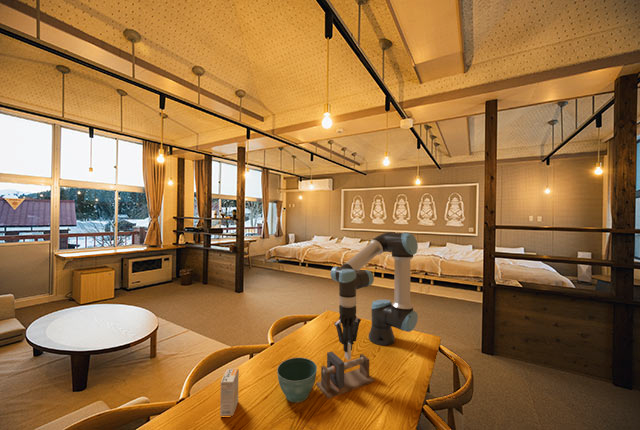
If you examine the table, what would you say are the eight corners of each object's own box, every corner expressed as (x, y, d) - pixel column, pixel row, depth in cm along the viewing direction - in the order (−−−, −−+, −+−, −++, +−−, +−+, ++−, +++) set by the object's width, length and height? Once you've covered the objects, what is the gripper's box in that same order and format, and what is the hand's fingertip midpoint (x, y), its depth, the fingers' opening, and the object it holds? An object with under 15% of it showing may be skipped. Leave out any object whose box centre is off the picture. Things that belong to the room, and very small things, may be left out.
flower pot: (301, 416, 92) (301, 386, 92) (268, 399, 100) (268, 371, 100) (324, 390, 105) (324, 364, 106) (293, 378, 114) (293, 353, 114)
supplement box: (226, 402, 98) (226, 368, 99) (238, 401, 99) (239, 367, 99) (219, 418, 90) (219, 381, 90) (233, 418, 91) (233, 381, 91)
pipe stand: (360, 369, 121) (360, 350, 121) (374, 381, 112) (374, 360, 112) (316, 384, 109) (316, 363, 109) (327, 399, 100) (327, 376, 101)
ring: (331, 373, 113) (331, 351, 113) (344, 386, 104) (344, 362, 104) (327, 375, 112) (327, 352, 112) (339, 388, 103) (339, 363, 103)
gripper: (354, 300, 118) (354, 350, 118) (330, 304, 112) (331, 357, 112) (364, 304, 112) (365, 358, 111) (339, 309, 105) (340, 366, 105)
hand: (347, 358), depth 111 cm, fingers closed
